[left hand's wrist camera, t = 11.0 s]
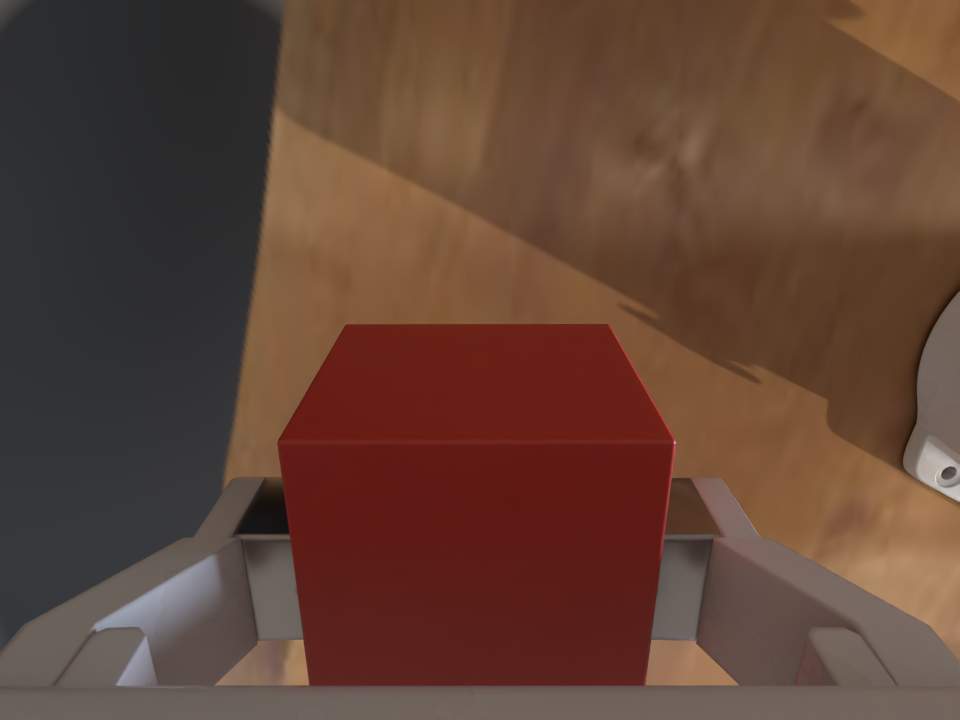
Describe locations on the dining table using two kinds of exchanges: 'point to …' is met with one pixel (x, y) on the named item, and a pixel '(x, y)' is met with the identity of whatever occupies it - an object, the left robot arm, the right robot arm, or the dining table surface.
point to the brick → (477, 507)
